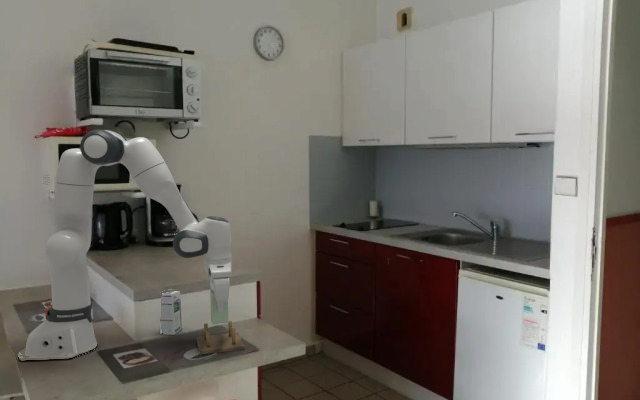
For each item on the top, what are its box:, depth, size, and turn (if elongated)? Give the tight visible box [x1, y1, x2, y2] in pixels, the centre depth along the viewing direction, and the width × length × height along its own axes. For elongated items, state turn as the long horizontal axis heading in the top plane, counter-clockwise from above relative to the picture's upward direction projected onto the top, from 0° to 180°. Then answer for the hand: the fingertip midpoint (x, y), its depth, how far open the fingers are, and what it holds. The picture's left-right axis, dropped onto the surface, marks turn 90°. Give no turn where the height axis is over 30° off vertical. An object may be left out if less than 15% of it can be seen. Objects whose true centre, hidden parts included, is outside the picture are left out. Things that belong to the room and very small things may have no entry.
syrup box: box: [160, 290, 183, 336], centre depth 186 cm, size 6×6×14 cm
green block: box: [209, 289, 229, 325], centre depth 172 cm, size 5×5×10 cm
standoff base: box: [195, 320, 246, 355], centre depth 173 cm, size 14×14×6 cm
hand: (219, 308), depth 173 cm, fingers closed on green block, 5 cm apart
